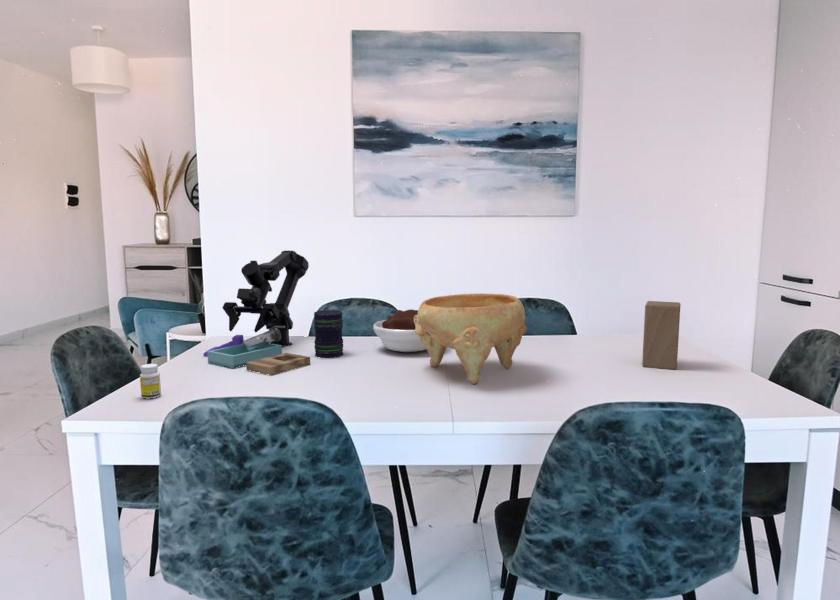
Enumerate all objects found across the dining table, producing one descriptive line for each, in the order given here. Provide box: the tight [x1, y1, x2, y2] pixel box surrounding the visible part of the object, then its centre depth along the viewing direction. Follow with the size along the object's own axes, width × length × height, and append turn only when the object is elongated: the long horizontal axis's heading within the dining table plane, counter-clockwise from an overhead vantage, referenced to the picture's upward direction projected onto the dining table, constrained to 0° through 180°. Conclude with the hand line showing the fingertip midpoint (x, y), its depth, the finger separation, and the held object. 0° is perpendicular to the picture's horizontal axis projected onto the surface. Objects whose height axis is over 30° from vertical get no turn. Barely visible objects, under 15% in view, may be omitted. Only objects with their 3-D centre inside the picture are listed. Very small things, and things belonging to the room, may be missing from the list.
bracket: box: [203, 334, 245, 358], centre depth 199 cm, size 12×7×7 cm, turn 93°
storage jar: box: [313, 309, 344, 359], centre depth 197 cm, size 10×10×15 cm
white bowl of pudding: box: [373, 308, 427, 353], centre depth 205 cm, size 25×25×15 cm
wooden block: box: [641, 300, 682, 371], centre depth 182 cm, size 10×10×20 cm
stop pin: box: [243, 327, 281, 352], centre depth 196 cm, size 5×5×13 cm
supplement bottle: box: [139, 363, 162, 400], centre depth 150 cm, size 5×5×8 cm
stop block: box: [245, 352, 311, 376], centre depth 181 cm, size 16×11×2 cm, turn 146°
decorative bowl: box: [414, 293, 528, 385], centre depth 175 cm, size 34×35×23 cm
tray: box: [207, 343, 283, 369], centre depth 191 cm, size 20×13×4 cm, turn 146°
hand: (242, 331), depth 189 cm, fingers open, 9 cm apart
